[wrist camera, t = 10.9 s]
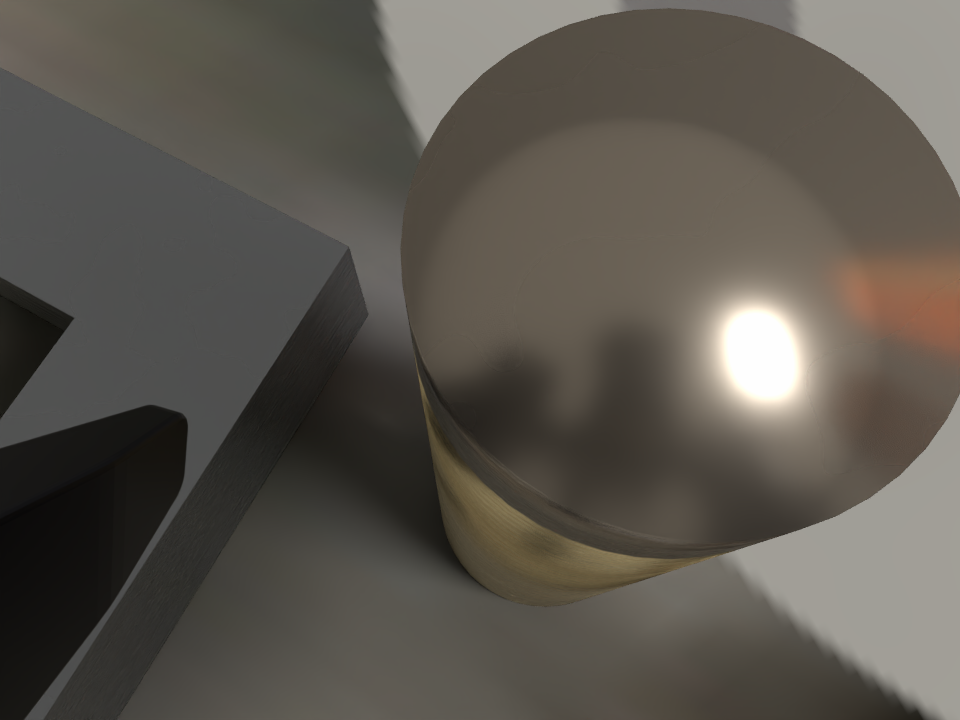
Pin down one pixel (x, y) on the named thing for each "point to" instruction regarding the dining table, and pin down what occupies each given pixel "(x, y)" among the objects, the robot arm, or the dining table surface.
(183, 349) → the bore housing
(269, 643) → the dining table surface
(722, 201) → the brass plug
